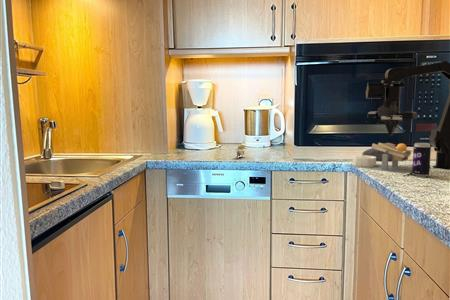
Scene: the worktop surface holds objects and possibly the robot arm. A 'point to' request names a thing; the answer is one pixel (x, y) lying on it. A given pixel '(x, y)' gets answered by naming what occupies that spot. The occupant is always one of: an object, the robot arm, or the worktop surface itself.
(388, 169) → the launcher base
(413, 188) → the worktop surface
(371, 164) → the beige round puck
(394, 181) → the worktop surface
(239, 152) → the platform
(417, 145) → the beverage can
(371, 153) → the perforated stone tool
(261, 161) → the worktop surface
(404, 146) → the ball
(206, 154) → the worktop surface
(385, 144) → the wooden tray
